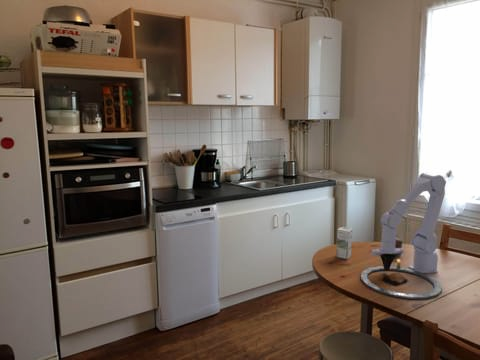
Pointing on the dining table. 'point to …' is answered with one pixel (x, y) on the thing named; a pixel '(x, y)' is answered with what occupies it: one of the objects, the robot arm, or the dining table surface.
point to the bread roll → (395, 279)
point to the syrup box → (344, 243)
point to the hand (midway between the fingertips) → (386, 269)
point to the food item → (398, 245)
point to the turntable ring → (433, 293)
